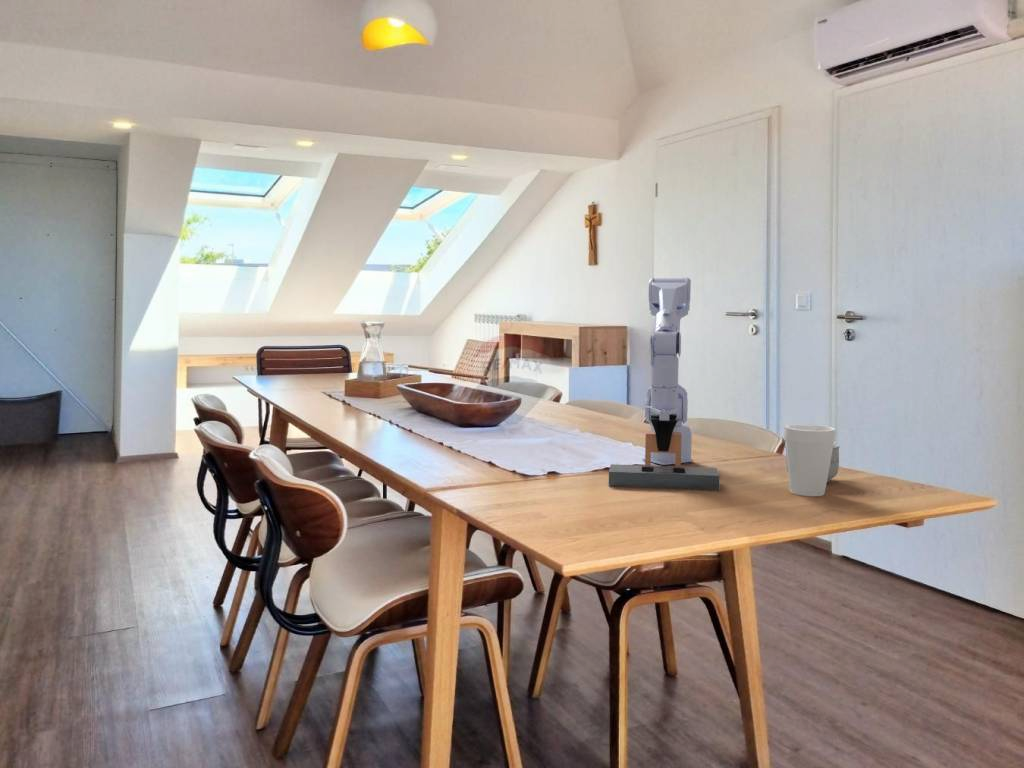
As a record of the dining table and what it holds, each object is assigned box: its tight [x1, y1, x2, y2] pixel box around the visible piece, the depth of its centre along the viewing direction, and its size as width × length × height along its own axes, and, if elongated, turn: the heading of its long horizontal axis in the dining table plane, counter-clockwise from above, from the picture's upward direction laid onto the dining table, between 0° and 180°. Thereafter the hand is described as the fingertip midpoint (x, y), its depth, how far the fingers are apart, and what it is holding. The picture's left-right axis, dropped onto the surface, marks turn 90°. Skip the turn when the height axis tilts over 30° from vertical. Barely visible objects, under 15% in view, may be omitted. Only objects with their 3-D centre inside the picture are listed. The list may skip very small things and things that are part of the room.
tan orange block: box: [644, 430, 682, 467], centre depth 178 cm, size 8×4×7 cm, turn 80°
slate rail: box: [608, 463, 720, 492], centre depth 169 cm, size 22×8×3 cm, turn 80°
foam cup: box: [783, 423, 837, 497], centre depth 162 cm, size 10×9×13 cm
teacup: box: [784, 443, 841, 483], centre depth 174 cm, size 14×11×8 cm
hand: (663, 449), depth 178 cm, fingers closed on tan orange block, 4 cm apart
